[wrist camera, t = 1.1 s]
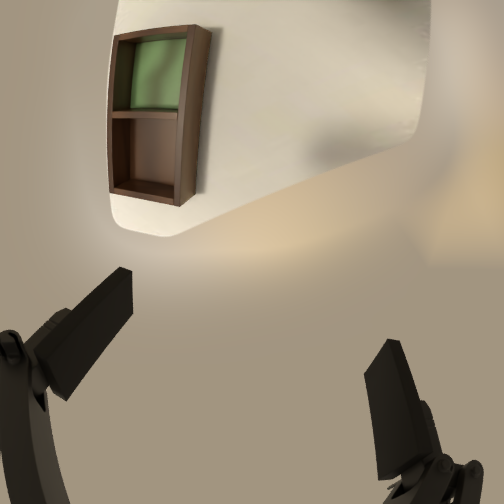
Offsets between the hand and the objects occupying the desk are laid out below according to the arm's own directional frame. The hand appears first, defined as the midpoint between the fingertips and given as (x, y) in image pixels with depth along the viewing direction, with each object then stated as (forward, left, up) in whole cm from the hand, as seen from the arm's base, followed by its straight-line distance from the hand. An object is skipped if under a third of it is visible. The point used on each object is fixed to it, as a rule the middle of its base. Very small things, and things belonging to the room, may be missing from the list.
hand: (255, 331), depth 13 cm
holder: (+12, -16, -24) cm, 31 cm away
